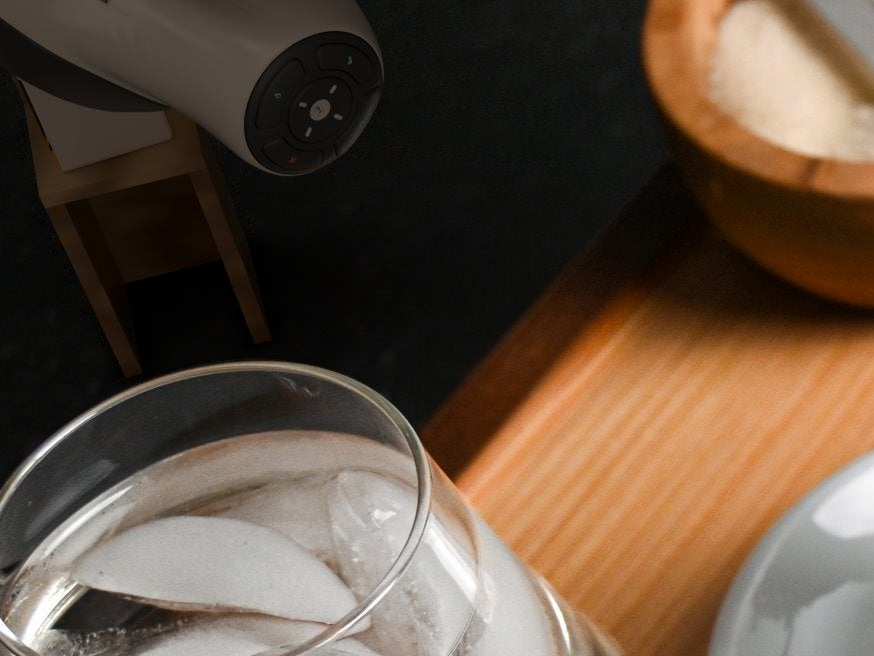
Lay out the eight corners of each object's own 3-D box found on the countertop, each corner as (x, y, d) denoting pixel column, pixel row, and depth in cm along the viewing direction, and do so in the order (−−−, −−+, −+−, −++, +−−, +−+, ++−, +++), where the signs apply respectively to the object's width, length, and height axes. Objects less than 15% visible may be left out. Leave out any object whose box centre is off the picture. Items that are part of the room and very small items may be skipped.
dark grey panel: (38, 107, 121) (-42, -67, 111) (149, 74, 122) (80, -102, 112) (61, 176, 117) (-19, 1, 107) (175, 141, 119) (107, -35, 109)
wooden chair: (128, 385, 130) (-60, -10, 105) (110, 287, 135) (-73, -112, 110) (274, 347, 131) (123, -52, 106) (251, 252, 137) (101, -151, 111)
